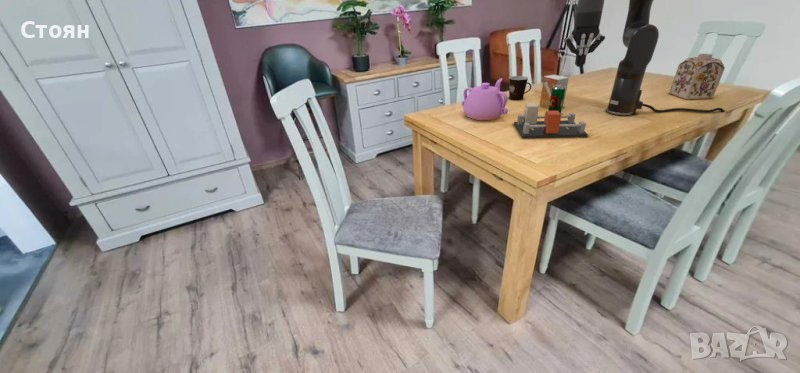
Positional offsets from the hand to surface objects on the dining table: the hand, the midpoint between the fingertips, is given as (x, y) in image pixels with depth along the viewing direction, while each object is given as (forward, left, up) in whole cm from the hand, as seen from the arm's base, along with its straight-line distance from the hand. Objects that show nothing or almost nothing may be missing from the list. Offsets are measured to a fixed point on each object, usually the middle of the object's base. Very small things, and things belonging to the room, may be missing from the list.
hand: (579, 66), depth 116 cm
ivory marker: (+14, -2, -21) cm, 25 cm away
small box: (-2, -27, -22) cm, 35 cm away
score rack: (+8, +3, -22) cm, 24 cm away
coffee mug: (+10, -40, -22) cm, 47 cm away
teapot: (+28, -18, -22) cm, 40 cm away
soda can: (0, -16, -22) cm, 28 cm away
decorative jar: (-66, -37, -22) cm, 79 cm away
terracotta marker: (+9, +8, -21) cm, 24 cm away
